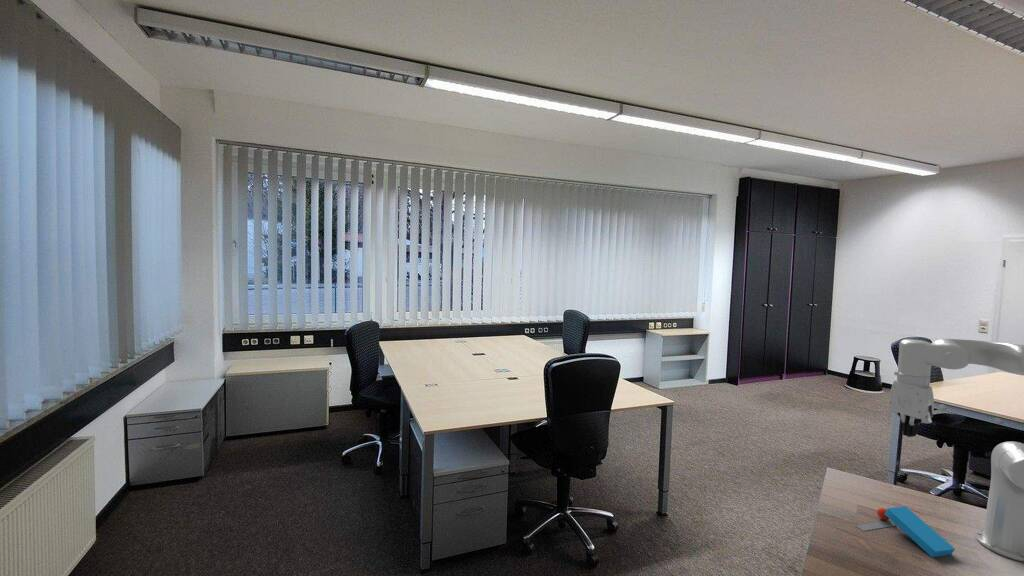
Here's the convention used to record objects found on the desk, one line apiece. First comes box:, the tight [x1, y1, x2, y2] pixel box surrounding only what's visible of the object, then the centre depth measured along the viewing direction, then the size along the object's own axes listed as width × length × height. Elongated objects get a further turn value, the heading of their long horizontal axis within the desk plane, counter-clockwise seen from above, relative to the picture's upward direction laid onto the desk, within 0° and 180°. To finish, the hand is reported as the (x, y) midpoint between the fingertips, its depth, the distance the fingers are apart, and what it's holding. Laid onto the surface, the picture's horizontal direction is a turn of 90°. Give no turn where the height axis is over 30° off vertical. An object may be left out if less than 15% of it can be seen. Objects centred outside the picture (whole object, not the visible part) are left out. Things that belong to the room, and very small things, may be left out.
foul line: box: [855, 519, 898, 532], centre depth 137 cm, size 23×2×1 cm, turn 102°
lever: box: [876, 506, 955, 558], centre depth 132 cm, size 7×7×18 cm
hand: (909, 435), depth 137 cm, fingers closed
